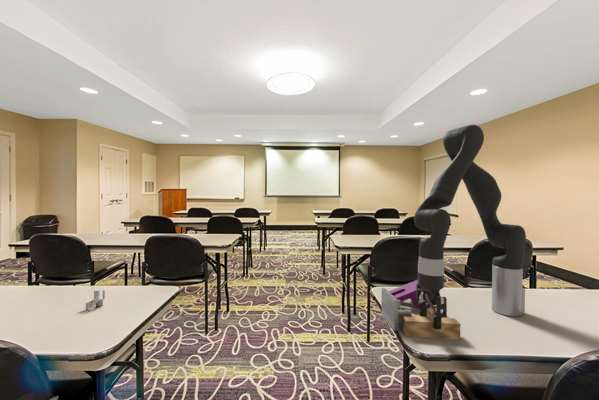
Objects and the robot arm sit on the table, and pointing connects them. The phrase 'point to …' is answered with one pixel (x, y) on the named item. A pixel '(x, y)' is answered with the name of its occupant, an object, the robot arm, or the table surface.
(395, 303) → the bracket
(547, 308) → the table surface
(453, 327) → the rail
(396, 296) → the mounting bracket
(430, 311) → the rest block
